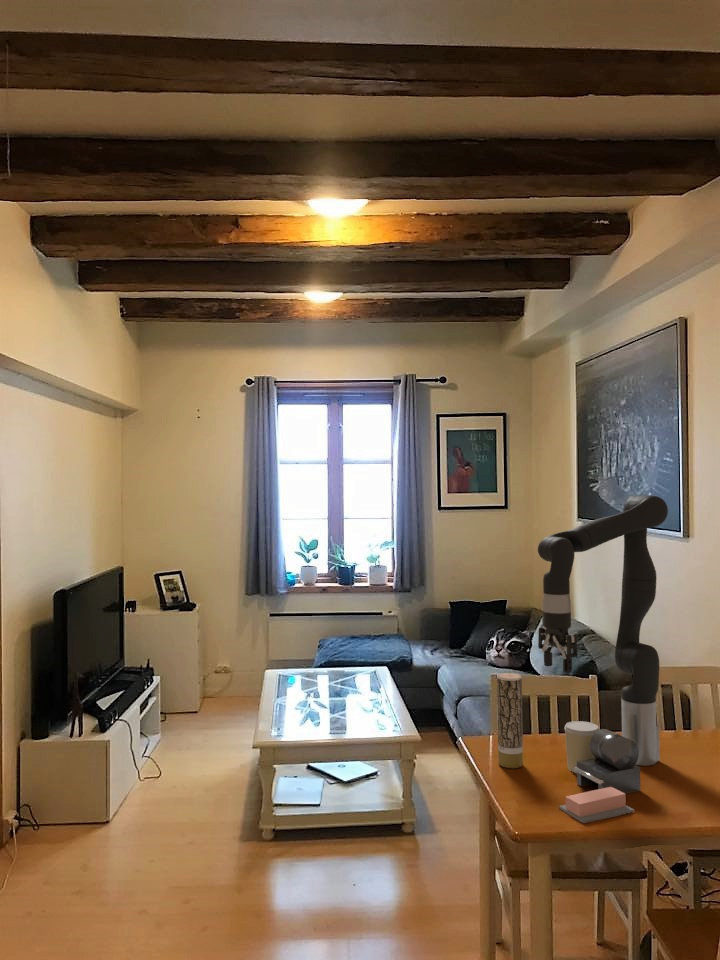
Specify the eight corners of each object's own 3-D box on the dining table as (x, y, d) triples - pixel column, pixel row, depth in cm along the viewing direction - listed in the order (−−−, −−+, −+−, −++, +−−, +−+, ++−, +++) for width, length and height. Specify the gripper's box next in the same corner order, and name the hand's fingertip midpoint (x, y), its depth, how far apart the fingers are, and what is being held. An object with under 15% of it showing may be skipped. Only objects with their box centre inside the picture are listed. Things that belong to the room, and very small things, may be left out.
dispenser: (613, 776, 208) (612, 726, 208) (641, 790, 198) (640, 738, 198) (573, 784, 203) (573, 732, 203) (600, 799, 193) (599, 745, 193)
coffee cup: (587, 761, 219) (586, 719, 220) (607, 773, 211) (606, 729, 211) (558, 765, 217) (557, 722, 217) (577, 777, 208) (576, 732, 208)
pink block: (611, 798, 192) (610, 786, 192) (625, 806, 188) (625, 793, 188) (565, 809, 187) (565, 796, 187) (579, 817, 182) (579, 804, 182)
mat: (608, 798, 194) (608, 795, 194) (634, 812, 186) (634, 809, 186) (559, 808, 188) (559, 806, 188) (583, 823, 180) (582, 820, 180)
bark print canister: (507, 770, 213) (506, 679, 213) (493, 762, 219) (492, 674, 220) (527, 767, 216) (526, 677, 216) (513, 759, 222) (512, 671, 222)
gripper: (584, 612, 207) (585, 673, 207) (552, 605, 220) (553, 662, 220) (561, 614, 204) (562, 676, 204) (530, 607, 217) (530, 665, 217)
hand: (557, 669), depth 212 cm, fingers open, 8 cm apart
